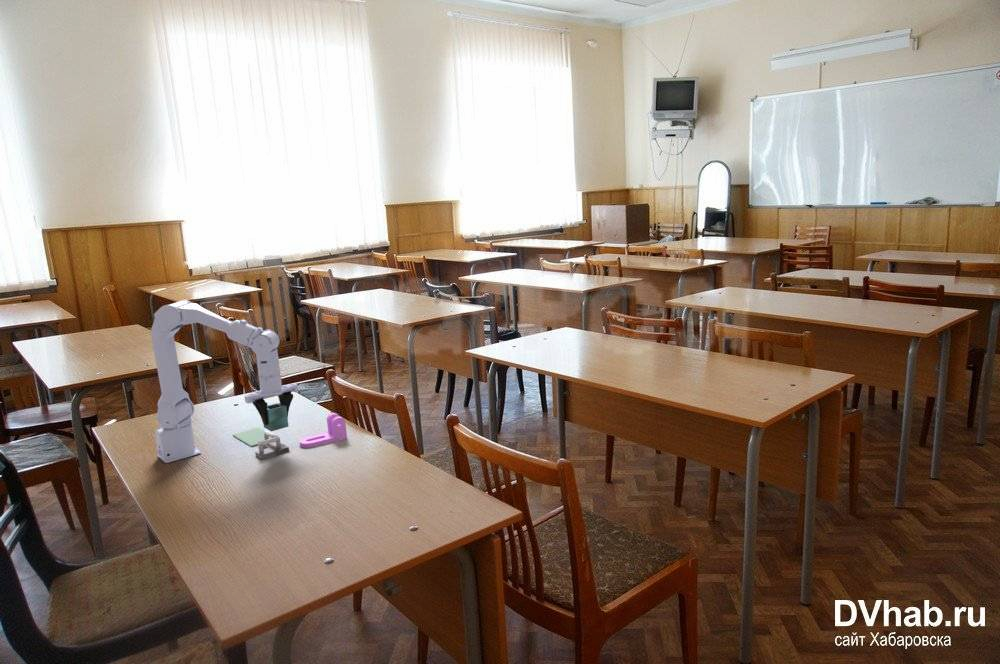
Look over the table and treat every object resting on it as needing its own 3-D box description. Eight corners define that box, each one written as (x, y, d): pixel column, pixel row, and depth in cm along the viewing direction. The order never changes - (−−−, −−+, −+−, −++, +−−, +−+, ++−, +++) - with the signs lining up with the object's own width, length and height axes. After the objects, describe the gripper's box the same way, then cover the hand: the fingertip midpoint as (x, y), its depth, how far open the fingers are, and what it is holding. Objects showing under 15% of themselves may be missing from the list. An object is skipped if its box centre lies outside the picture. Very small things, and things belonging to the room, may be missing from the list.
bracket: (340, 433, 201) (338, 411, 200) (347, 438, 196) (344, 416, 195) (297, 444, 194) (294, 421, 193) (303, 449, 190) (300, 426, 188)
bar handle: (261, 459, 183) (259, 444, 183) (245, 449, 192) (243, 434, 191) (289, 451, 189) (287, 436, 188) (271, 441, 197) (270, 427, 196)
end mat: (251, 446, 194) (251, 445, 193) (232, 435, 204) (232, 434, 204) (277, 439, 199) (277, 437, 199) (258, 428, 209) (258, 427, 209)
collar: (271, 431, 184) (268, 410, 183) (263, 427, 188) (261, 407, 186) (288, 426, 187) (286, 406, 186) (280, 422, 191) (278, 402, 190)
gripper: (249, 383, 177) (256, 431, 179) (300, 371, 186) (306, 417, 189) (239, 378, 182) (245, 426, 185) (289, 367, 191) (294, 412, 194)
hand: (275, 421), depth 187 cm, fingers closed on collar, 5 cm apart
